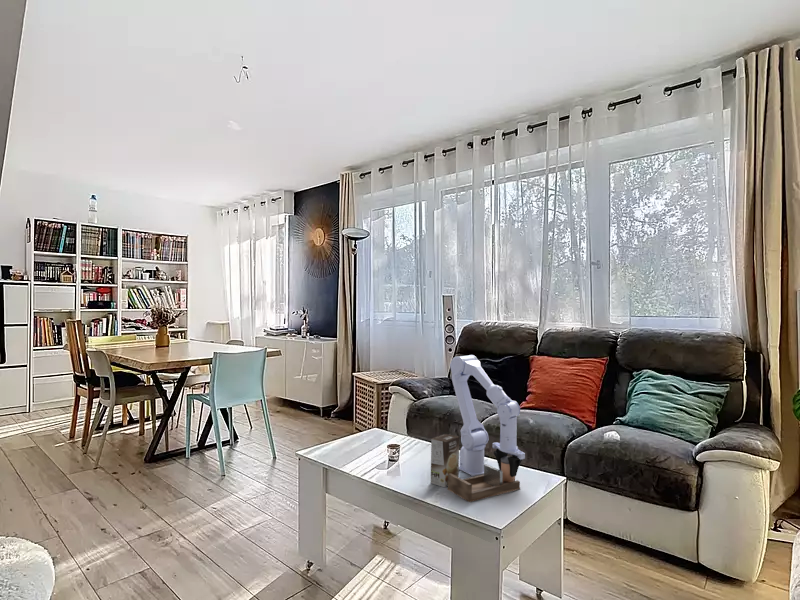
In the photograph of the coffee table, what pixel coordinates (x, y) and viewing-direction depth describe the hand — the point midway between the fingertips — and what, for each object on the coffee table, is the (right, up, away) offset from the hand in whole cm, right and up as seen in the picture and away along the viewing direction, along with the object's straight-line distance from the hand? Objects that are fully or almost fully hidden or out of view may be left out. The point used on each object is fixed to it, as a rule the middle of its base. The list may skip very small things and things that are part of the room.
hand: (507, 473), depth 175 cm
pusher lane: (-9, -3, -6) cm, 12 cm away
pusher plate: (-6, -4, -4) cm, 8 cm away
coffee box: (-22, -4, +1) cm, 23 cm away
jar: (0, -2, 0) cm, 2 cm away
